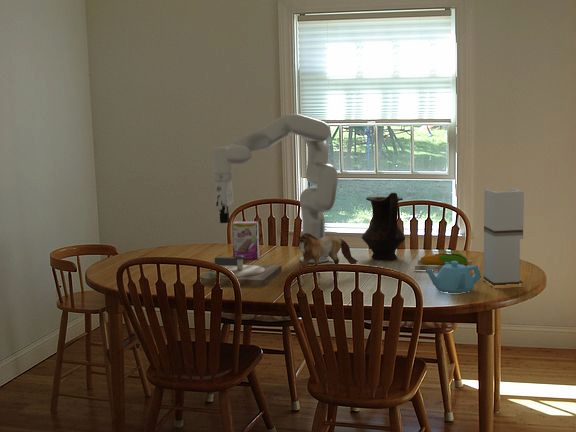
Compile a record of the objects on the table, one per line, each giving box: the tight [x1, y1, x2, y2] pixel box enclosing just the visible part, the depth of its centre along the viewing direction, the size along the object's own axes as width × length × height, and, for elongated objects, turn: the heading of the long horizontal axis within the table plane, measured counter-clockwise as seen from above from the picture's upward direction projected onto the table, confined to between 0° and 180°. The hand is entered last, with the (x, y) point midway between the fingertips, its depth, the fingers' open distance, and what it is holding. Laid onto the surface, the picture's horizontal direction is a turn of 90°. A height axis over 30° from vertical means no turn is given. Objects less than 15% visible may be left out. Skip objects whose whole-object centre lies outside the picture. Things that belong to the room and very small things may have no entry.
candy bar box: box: [231, 221, 260, 260], centre depth 355 cm, size 11×5×16 cm, turn 84°
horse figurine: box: [297, 233, 359, 286], centre depth 309 cm, size 31×8×21 cm, turn 133°
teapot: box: [426, 261, 483, 293], centre depth 288 cm, size 15×15×11 cm
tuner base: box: [199, 263, 283, 287], centre depth 320 cm, size 27×26×4 cm
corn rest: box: [414, 258, 473, 272], centre depth 324 cm, size 22×12×2 cm, turn 75°
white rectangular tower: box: [483, 187, 525, 286], centre depth 294 cm, size 11×11×35 cm
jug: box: [361, 192, 406, 262], centre depth 343 cm, size 21×18×30 cm
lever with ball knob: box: [214, 255, 244, 270], centre depth 320 cm, size 12×4×6 cm, turn 75°
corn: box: [419, 250, 469, 266], centre depth 324 cm, size 7×8×20 cm
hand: (224, 222), depth 325 cm, fingers closed
